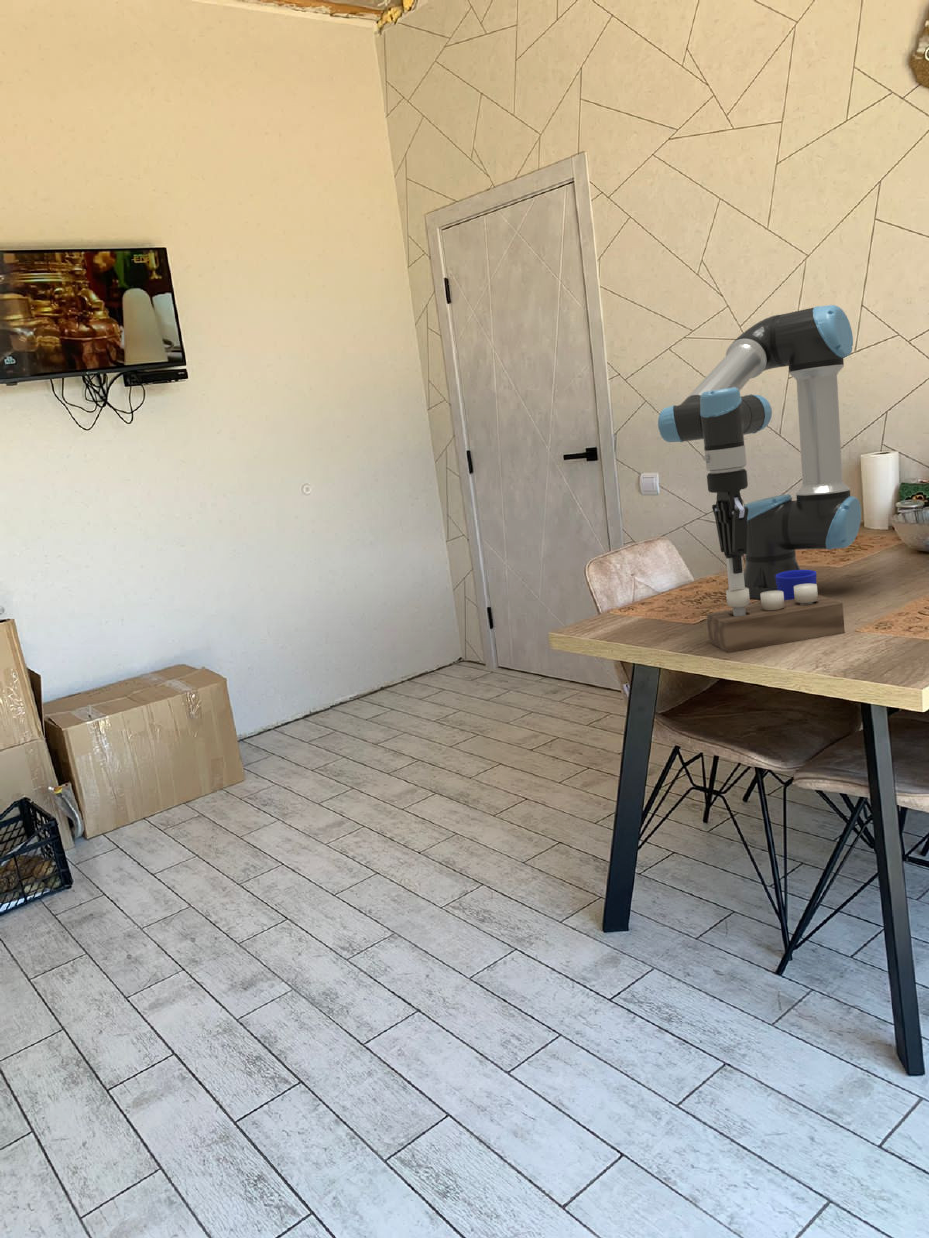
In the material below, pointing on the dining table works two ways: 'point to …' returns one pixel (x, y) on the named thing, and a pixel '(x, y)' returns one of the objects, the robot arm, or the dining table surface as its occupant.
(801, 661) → the dining table surface
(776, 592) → the knob
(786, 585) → the mug
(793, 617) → the mount
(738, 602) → the knob
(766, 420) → the robot arm
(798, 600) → the knob
